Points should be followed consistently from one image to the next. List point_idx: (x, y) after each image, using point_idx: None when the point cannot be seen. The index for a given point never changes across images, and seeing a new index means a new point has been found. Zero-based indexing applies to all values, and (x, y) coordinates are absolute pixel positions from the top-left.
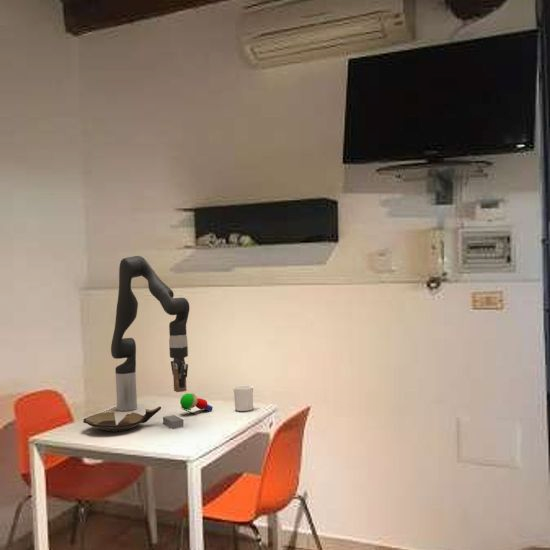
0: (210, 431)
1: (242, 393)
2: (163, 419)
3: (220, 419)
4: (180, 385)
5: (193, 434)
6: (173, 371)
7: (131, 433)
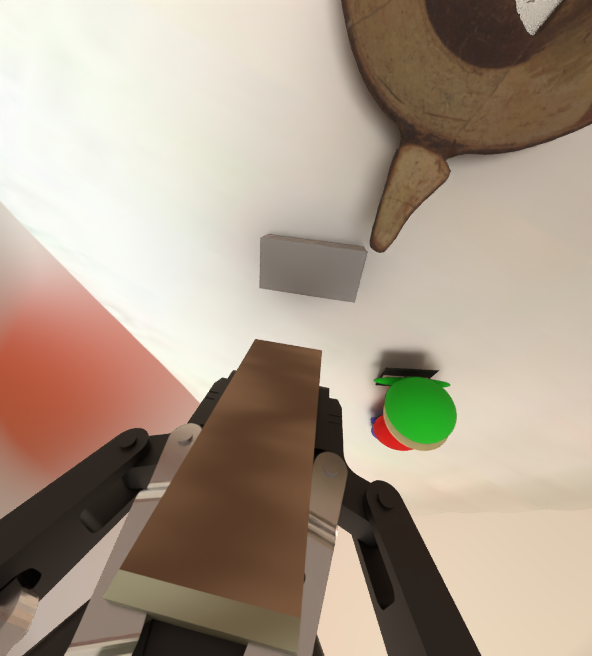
0: (170, 308)
1: None
2: (360, 249)
3: None
4: (226, 383)
5: (161, 254)
6: (296, 523)
7: (332, 5)
